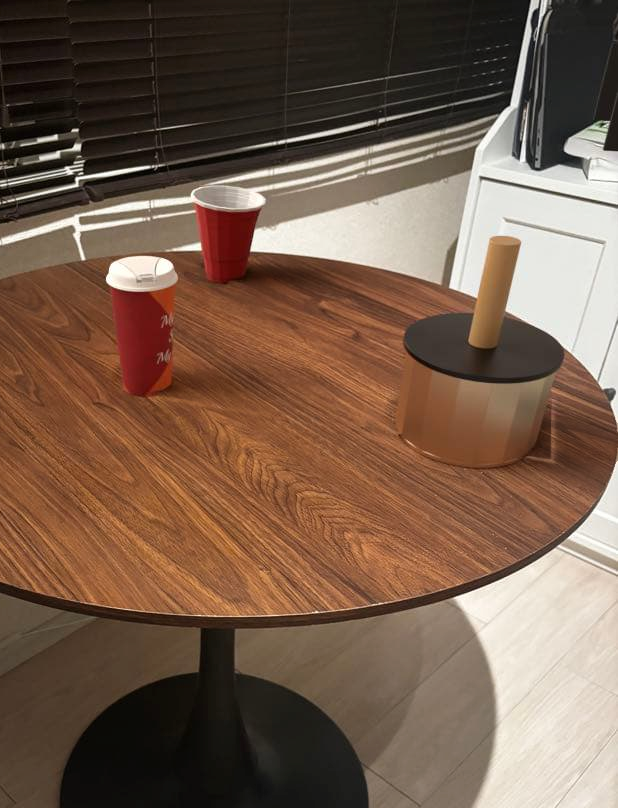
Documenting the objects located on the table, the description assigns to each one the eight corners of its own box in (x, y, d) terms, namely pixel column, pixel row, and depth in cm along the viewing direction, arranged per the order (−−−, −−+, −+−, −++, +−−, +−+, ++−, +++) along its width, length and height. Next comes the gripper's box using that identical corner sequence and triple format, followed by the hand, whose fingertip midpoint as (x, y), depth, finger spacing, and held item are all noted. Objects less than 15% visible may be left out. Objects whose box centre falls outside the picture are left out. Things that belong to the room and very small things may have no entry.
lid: (560, 334, 85) (592, 224, 78) (561, 400, 73) (598, 278, 66) (412, 315, 89) (429, 209, 82) (391, 375, 77) (409, 257, 70)
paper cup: (186, 397, 92) (184, 275, 84) (119, 404, 91) (110, 281, 82) (173, 367, 98) (170, 251, 90) (110, 373, 97) (100, 256, 88)
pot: (535, 411, 90) (558, 330, 84) (532, 479, 79) (558, 391, 73) (405, 391, 94) (418, 312, 88) (385, 453, 83) (399, 368, 77)
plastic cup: (251, 293, 117) (254, 207, 110) (181, 284, 120) (179, 200, 113) (271, 269, 125) (275, 187, 118) (205, 261, 128) (205, 181, 121)
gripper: (625, -159, 72) (565, 108, 85) (661, -186, 53) (576, 163, 66) (719, -162, 70) (642, 111, 83) (790, -191, 51) (677, 169, 64)
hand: (613, 135), depth 74 cm, fingers open, 13 cm apart
